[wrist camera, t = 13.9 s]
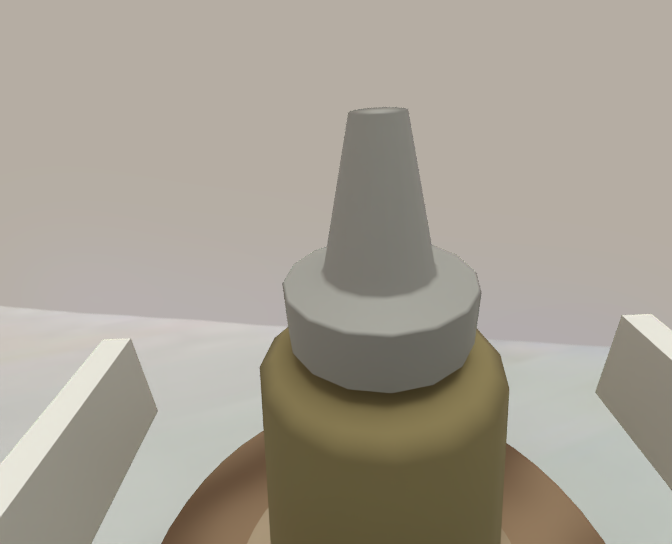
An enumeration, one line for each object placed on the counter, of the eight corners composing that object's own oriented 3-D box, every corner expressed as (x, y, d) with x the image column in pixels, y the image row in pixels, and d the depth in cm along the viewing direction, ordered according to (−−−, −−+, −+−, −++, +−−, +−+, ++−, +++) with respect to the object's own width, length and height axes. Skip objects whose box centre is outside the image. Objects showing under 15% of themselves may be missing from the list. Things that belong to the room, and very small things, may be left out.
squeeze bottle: (491, 521, 18) (586, 87, 10) (476, 789, 12) (733, 171, 3) (328, 467, 21) (290, 95, 12) (241, 658, 14) (38, 149, 6)
